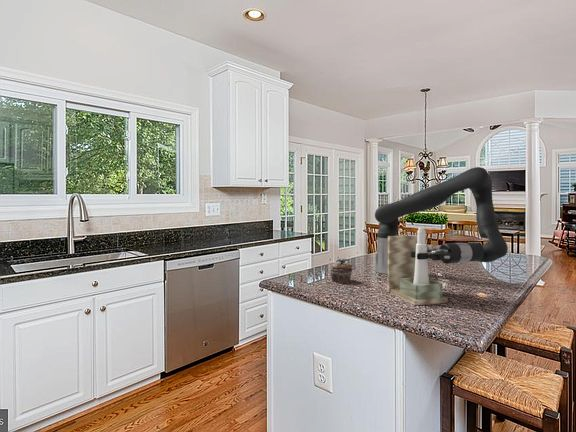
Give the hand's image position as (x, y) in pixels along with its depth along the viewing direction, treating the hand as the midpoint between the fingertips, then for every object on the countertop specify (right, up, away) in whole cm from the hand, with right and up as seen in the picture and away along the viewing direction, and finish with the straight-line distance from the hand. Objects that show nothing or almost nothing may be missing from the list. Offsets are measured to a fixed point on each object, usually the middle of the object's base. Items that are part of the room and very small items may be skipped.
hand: (414, 255), depth 130 cm
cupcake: (-22, -15, +29) cm, 40 cm away
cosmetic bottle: (+3, -12, +1) cm, 13 cm away
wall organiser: (+3, -16, +4) cm, 17 cm away
